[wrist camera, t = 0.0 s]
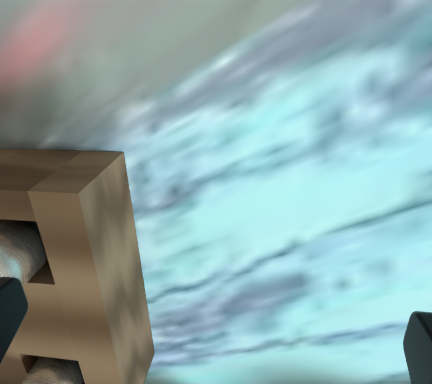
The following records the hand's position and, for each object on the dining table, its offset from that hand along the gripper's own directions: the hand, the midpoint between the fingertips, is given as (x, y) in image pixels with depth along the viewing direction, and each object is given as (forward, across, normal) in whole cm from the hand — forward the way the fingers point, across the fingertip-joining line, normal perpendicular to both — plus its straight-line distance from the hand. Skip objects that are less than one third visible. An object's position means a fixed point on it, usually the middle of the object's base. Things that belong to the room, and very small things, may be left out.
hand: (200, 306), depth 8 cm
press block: (+15, +13, +11) cm, 23 cm away
